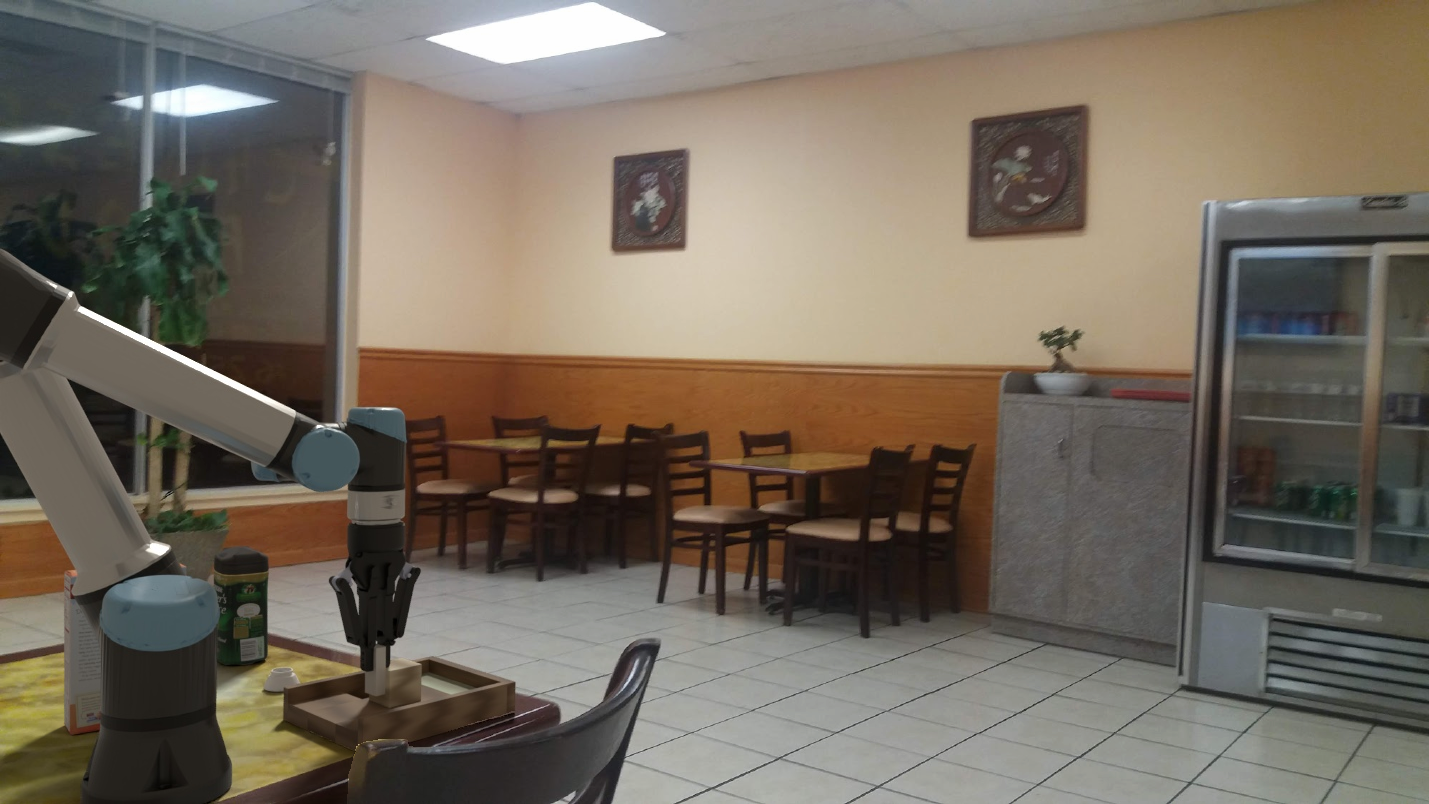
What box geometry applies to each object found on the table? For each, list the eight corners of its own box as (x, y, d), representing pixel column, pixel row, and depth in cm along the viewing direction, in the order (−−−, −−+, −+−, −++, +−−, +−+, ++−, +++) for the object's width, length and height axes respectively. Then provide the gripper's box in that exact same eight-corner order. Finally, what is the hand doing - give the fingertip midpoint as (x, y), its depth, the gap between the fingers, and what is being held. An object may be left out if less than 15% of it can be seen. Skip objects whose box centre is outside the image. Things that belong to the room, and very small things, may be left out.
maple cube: (389, 707, 146) (389, 671, 146) (369, 700, 149) (369, 664, 149) (421, 700, 150) (421, 664, 149) (400, 692, 153) (401, 657, 153)
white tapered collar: (289, 694, 160) (305, 685, 165) (289, 675, 160) (305, 666, 165) (257, 693, 160) (274, 683, 165) (257, 673, 160) (274, 664, 165)
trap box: (362, 755, 134) (363, 719, 134) (283, 719, 147) (283, 687, 147) (514, 713, 153) (515, 681, 153) (432, 685, 166) (432, 656, 166)
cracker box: (176, 706, 152) (178, 559, 152) (186, 717, 147) (189, 565, 147) (61, 724, 143) (63, 568, 143) (68, 736, 139) (70, 575, 138)
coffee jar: (207, 656, 179) (208, 545, 179) (257, 650, 184) (259, 542, 184) (221, 669, 172) (222, 553, 171) (273, 662, 176) (274, 549, 176)
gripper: (347, 528, 139) (346, 709, 139) (433, 519, 149) (431, 688, 149) (317, 522, 144) (316, 697, 144) (402, 514, 154) (401, 678, 154)
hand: (375, 693), depth 147 cm, fingers closed
